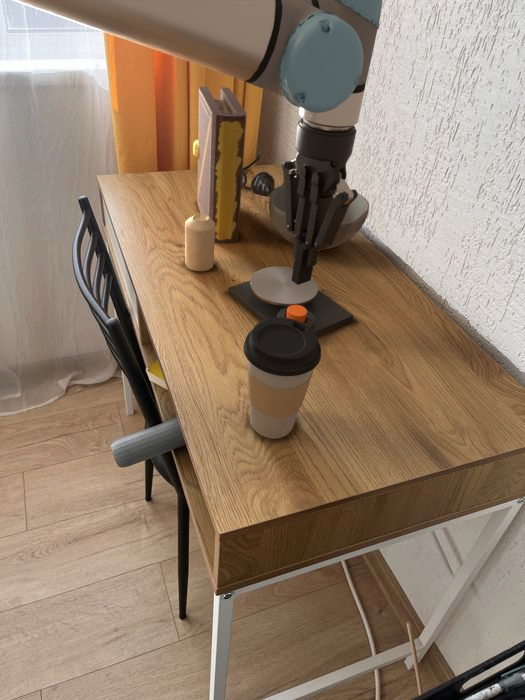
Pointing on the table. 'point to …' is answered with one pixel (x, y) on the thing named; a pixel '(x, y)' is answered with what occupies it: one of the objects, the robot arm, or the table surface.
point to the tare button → (297, 313)
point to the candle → (199, 242)
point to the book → (220, 160)
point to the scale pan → (282, 287)
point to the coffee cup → (279, 373)
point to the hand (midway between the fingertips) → (301, 280)
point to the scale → (319, 311)
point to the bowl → (354, 213)
